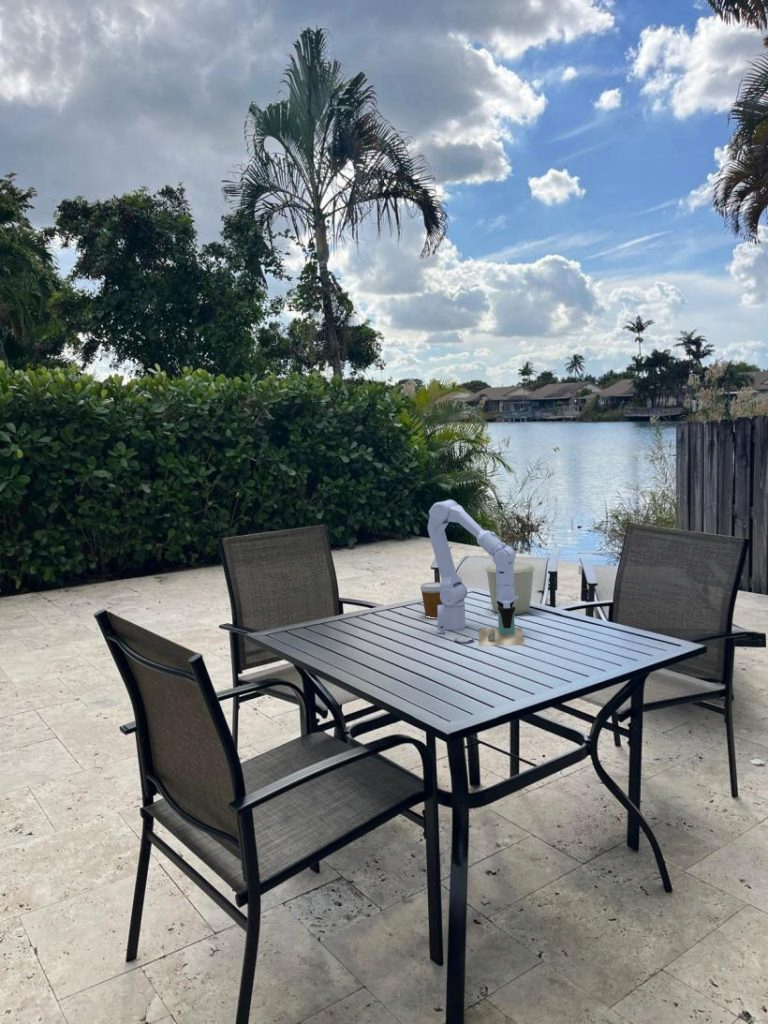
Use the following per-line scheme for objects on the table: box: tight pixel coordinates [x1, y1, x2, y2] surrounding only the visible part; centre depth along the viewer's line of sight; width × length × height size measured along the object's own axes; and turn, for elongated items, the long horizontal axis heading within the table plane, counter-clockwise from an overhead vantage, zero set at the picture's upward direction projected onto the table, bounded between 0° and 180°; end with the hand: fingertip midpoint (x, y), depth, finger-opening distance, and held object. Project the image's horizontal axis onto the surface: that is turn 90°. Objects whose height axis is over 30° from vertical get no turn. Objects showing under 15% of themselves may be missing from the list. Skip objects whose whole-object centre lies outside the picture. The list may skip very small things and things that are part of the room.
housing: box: [497, 612, 516, 634], centre depth 237 cm, size 5×5×6 cm
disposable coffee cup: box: [420, 581, 443, 617], centre depth 266 cm, size 10×10×12 cm
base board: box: [478, 627, 526, 646], centre depth 232 cm, size 14×20×5 cm
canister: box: [484, 560, 536, 616], centre depth 268 cm, size 18×18×21 cm
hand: (506, 625), depth 237 cm, fingers open, 7 cm apart
